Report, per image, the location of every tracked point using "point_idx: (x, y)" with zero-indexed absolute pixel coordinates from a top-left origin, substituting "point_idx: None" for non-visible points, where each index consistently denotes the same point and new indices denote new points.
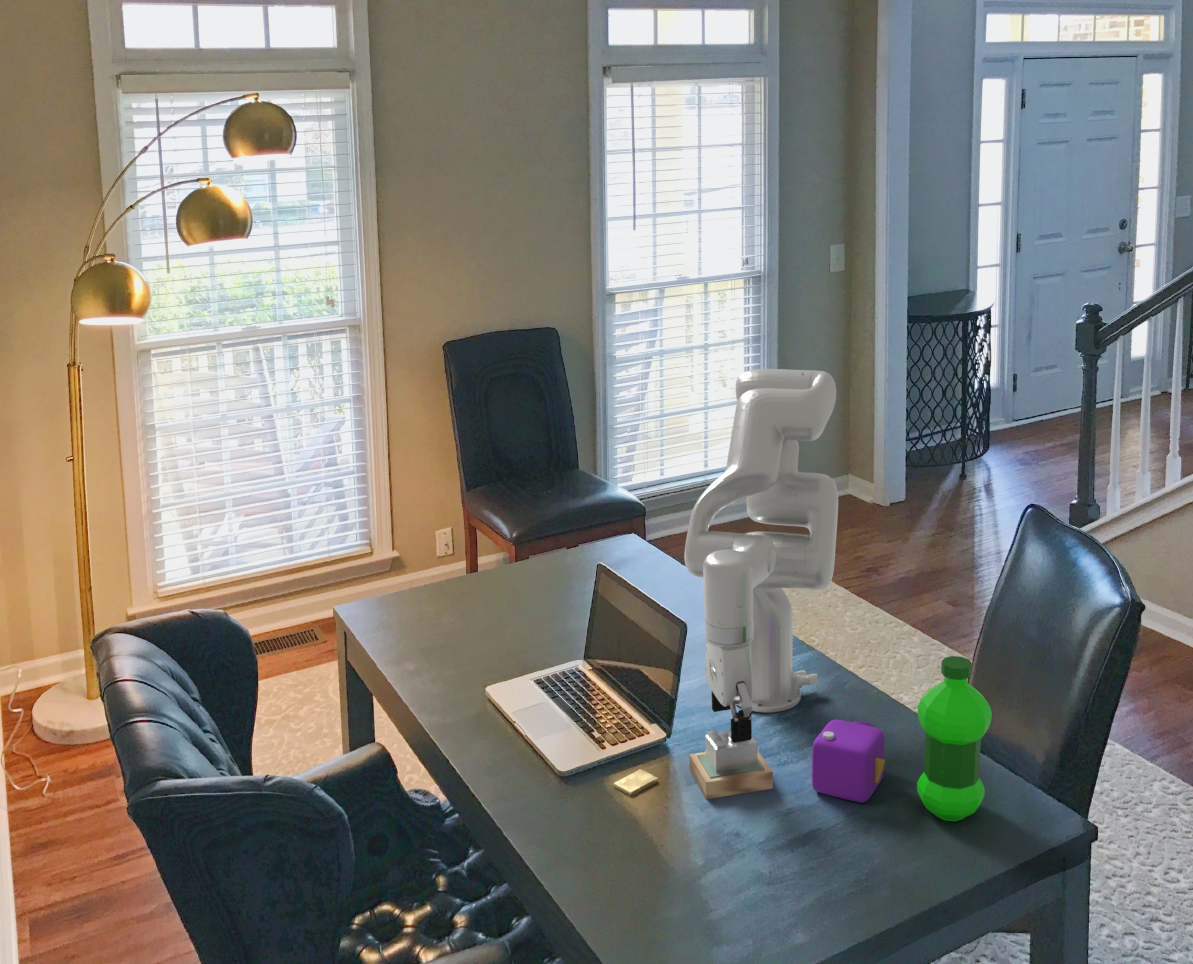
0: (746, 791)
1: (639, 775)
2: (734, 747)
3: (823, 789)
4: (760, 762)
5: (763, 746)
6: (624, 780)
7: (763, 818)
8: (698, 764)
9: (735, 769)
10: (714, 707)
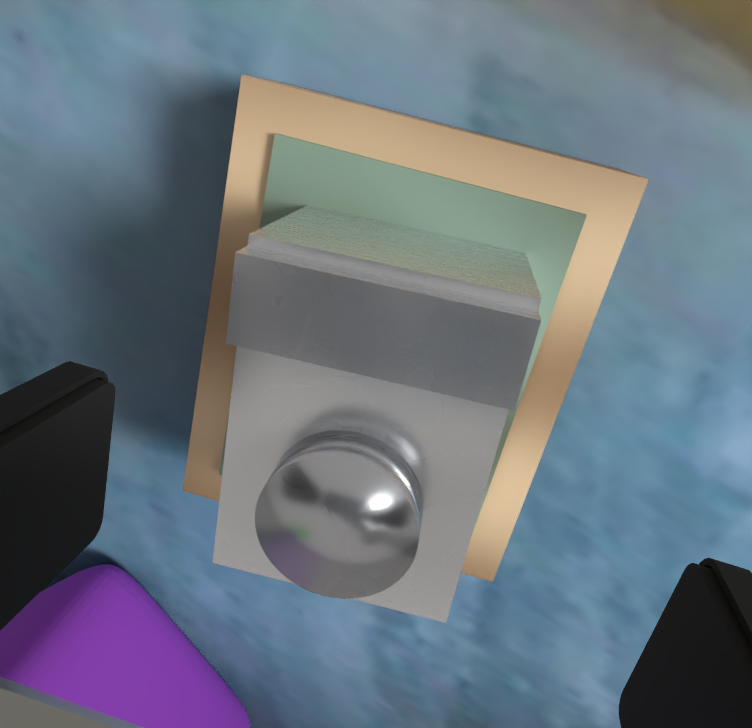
0: None
1: None
2: (231, 394)
3: (53, 585)
4: None
5: (578, 627)
6: None
7: (8, 254)
8: (480, 159)
9: None
10: (708, 598)
